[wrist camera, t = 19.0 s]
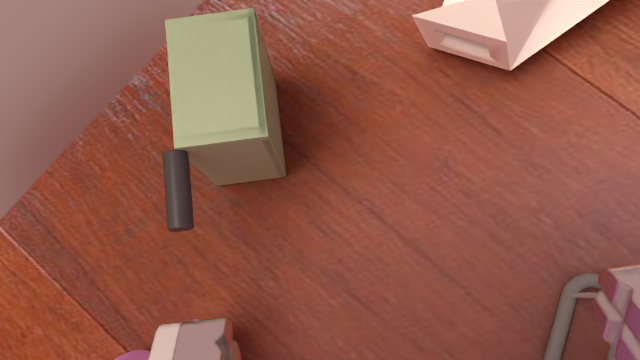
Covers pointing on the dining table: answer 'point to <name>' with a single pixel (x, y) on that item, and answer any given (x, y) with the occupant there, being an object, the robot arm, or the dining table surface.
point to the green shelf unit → (219, 107)
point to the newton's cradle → (570, 314)
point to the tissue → (500, 27)
